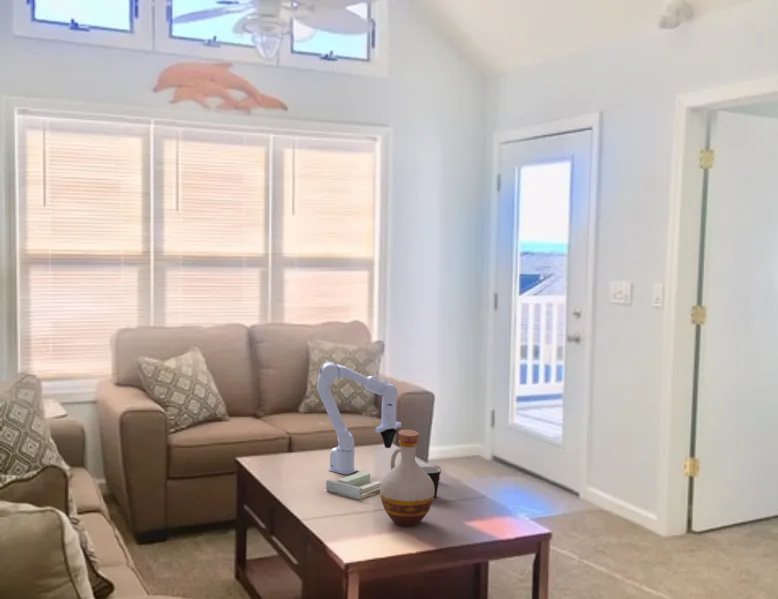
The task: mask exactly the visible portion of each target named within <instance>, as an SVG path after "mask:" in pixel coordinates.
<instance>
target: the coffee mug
mask: <svg viewBox="0 0 778 599" xmlns="http://www.w3.org/2000/svg"><path fill="white" fill-rule="evenodd" d="M420 467H421V468H422V469H423V470H424V471H425V472H426V473H427V474H428V475H429V476H430V478H431V479H432V481H433V483H434V489H435V492H434V498H435V499H437V495H438V488H439V482H440V481H439V477H440V475H441V474H440V469H441V468H440V469H439V468H437V467H431V466H430V465H429V466H428V465H427V466H425V465H424V466H420ZM440 478H441V477H440Z"/></svg>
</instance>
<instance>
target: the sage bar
mask: <svg viewBox="0 0 778 599" xmlns="http://www.w3.org/2000/svg"><path fill="white" fill-rule="evenodd" d="M337 482H341V483H345V484H349V485H353V486H359V485H362V484H365V483H368V482H371V473H369V472H364V471H360V472H358V473H354V474H350V475H348V476H346V477H343V478H339V479H338V480H337Z"/></svg>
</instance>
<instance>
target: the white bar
mask: <svg viewBox="0 0 778 599" xmlns="http://www.w3.org/2000/svg"><path fill="white" fill-rule="evenodd" d="M380 485H381V481H379V480H376V481H373V482H372V483H370V484H367V485H364V486H361V487H360V488H362V494H363V493H366V492H369V491H372V490H374V489H377V488H380Z"/></svg>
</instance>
